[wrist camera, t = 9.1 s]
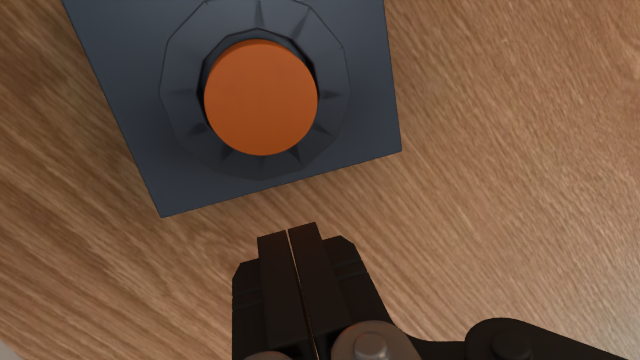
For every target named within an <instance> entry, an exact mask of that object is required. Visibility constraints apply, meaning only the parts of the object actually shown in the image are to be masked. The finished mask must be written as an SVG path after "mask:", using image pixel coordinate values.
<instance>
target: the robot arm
mask: <svg viewBox="0 0 640 360" xmlns="http://www.w3.org/2000/svg"><path fill="white" fill-rule="evenodd" d="M288 233H289V238H290V242H291V246H292V250H293V254H294V259H295V263H296V267H297V271H298V274H297V271H296V267H295V263H294V260H293V256H292V253H291V249H290V245H289V242H288V238H287V234H286V231H285V230H283V231H280V232H276V233H272V234H269V235H265V236H261V237H257V244H258V254H259V258H257V259H253V260H250V261H246V262H243V263H240V265H239V267H238V269H237V271H236V273H235V275H234V277H233V278H232V296H233V298H232V309H233V312H232V360H318V357H319V360H627V359H625V358H622V357H619V356H616V355H614V354H611V353H608V352H606V351H603V350H600V349H597V348H595V347H592V346H589V345H586V344H584V343H581V342H578V341H575V340H573V339H570V338H567V337H565V336H562V335H559V334H556V333H554V332H551V331H548V330H545V329H543V328H540V327H537V326H535V325H532V324H529V323H526V322H523V321H520V320H517V319H511V318H491V319H487V320H484V321H481V322H479V323H477V324H476V325H474V326H473V327H472V328H471V329H470V330H469V332H468V333H467V335H466V337H465V341H442V342H437V341H426V340H421V339H418V338H414V337H412V336H410V335H408V334H406V333H405V332H403V331H402V330H401V329H399V328H398V327H397V326H396V325H395V324H394V323H393V321H392V320H391V318H390V316H389V314H388V312H387V310H386V308H385V306H384V304H383V302H382V300H381V298H380V296H379V294H378V292H377V290H376V288H375V286H374V284H373V282H372V280H371V278H370V276H369V274H368V273H367V269H366V267H365V265H364V263H363V261H362V260H361V257H360V255H359V253H358V251H357V249H356V247H355V245H354V244H353V243H351V242H350V241H348V240H347V239H345V238H344V237H342V236H341V235H340V236H336V237H332V238H329V239H325V240H322V239H321V236H320V233H319V231H318V228H317V225H316V223H315V222H312V223H309V224H305V225H301V226H298V227H294V228H290V229H288ZM298 276H299V278H298ZM299 280H300V282H299ZM300 284H301V286H300ZM301 288H302V290H301ZM302 293H303V294H302ZM303 297H304V298H303ZM304 301H305V302H304ZM305 305H306V306H305ZM308 318H309V319H308ZM309 322H310V323H309ZM312 335H313V336H312ZM313 339H314V340H313ZM314 343H315V344H314ZM315 346H316V348H315ZM316 350H317V353H318V357H317V353H316Z"/></svg>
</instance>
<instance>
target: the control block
mask: <svg viewBox="0 0 640 360" xmlns="http://www.w3.org/2000/svg"><path fill="white" fill-rule="evenodd" d="M61 2H62V4H63V6H64V8H65V10H66V13H67V15H68V17H69V19H70V21H71V23H72V26H73V28H74V30H75V32H76V34H77V37H78V39H79V41H80V43H81V45H82V47H83V50H84V52H85V54H86V56H87V58H88V61H89V63H90V65H91V67H92V69H93V71H94V74H95V76H96V78H97V80H98V82H99V85H100V87H101V89H102V91H103V93H104V95H105V98H106V100H107V102H108V104H109V106H110V109H111V111H112V113H113V115H114V117H115V119H116V122H117V124H118V126H119V128H120V130H121V133H122V135H123V137H124V139H125V141H126V143H127V146H128V148H129V150H130V152H131V154H132V156H133V159H134V161H135V163H136V165H137V167H138V170H139V172H140V174H141V176H142V178H143V180H144V183H145V185H146V187H147V189H148V191H149V194H150V196H151V198H152V200H153V202H154V204H155V207H156V209H157V211H158V213H159V215H160V217H161V218H165V217H168V216H172V215H176V214H179V213H183V212H186V211H190V210H194V209H197V208H201V207H204V206H208V205H211V204H215V203H219V202H222V201H226V200H229V199H233V198H236V197H240V196H244V195H247V194H251V193H254V192H258V191H262V190H265V189H269V188H272V187H276V186H279V185H283V184H287V183H290V182H294V181H297V180H301V179H304V178H308V177H312V176H315V175H319V174H322V173H326V172H330V171H333V170H337V169H340V168H344V167H347V166H351V165H355V164H358V163H362V162H365V161H369V160H373V159H376V158H380V157H383V156H387V155H390V154H394V153H398V152H401V151H402V145H401V137H400V129H399V121H398V113H397V105H396V97H395V89H394V81H393V73H392V65H391V57H390V49H389V41H388V33H387V25H386V17H385V9H384V1H383V0H61ZM249 39H266V40H270V41H273V42H276V43H278V44H280V45H282V46H284V47H286V48H287V49H288V50H290V51H291V52H292V53H293V54H294V55H295V56H296V57H298V58H299V59H300V60H301V61H302V62H303V63H304V65H305V66H306V67H307V68H308V70H309V72H310V73H311V75H312V78H313V80H314V82H315V86H316V90H317V111H316V115H315V118H314V121H313V123H312V125H311V127H310V129H309V130H308V132H307V133H306V135H305V136H304V137H303V138H302V139H301V140H300V141H299V142H298V143H296V144H295V145H294V146H292V147H291V148H289V149H287V150H285V151H282V152H279V153H277V154H272V155H251V154H247V153H243V152H241V151H238V150H236V149H234V148H232V147H231V146H229V145H228V144H226V143H225V142H224V141H223V140H222V139H221V138H220V137H219V136H218V135H217V134H216V133H215V131H214V130H213V128H212V127H211V125H210V123H209V121H208V118H207V115H206V112H205V106H204V92H205V86H206V82H207V79H208V76H209V73H210V70H211V68H212V65H213V64H214V62H215V61H216V59H217V58H218V57H219V55H220V54H221V53H222V52H223V51H225V50H226V49H227V48H229V47H230V46H232V45H234V44H236V43H238V42H241V41H244V40H249Z"/></svg>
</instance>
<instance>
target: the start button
mask: <svg viewBox="0 0 640 360" xmlns="http://www.w3.org/2000/svg"><path fill="white" fill-rule="evenodd" d="M204 106H205V112H206V115H207V118H208V121H209V123H210V125H211V127H212V128H213V130H214V131H215V133H216V134H217V135H218V136H219V137H220V138H221V139H222V140H223V141H224V142H225V143H226V144H228V145H229V146H231V147H232V148H234V149H236V150H238V151H241V152H243V153H247V154H251V155H272V154H277V153H279V152H282V151H285V150H287V149H289V148H291V147H292V146H294V145H295V144H296V143H298V142H299V141H300V140H301V139H302V138H303V137H304V136H305V135H306V133H307V132H308V130H309V129H310V127H311V125H312V123H313V121H314V118H315V115H316V111H317V90H316V86H315V82H314V80H313V78H312V75H311V73H310V72H309V70H308V68H307V67H306V66H305V65H304V63H303V62H302V61H301V60H300V59H299V58H298V57H296V56H295V55H294V54H293V53H292V52H291V51H290V50H288V49H287V48H286V47H284V46H282V45H280V44H278V43H276V42H273V41H270V40H266V39H249V40H244V41H241V42H238V43H236V44H234V45H232V46H230V47H229V48H227V49H226V50H225V51H223V52H222V53H221V54H220V55H219V57H218V58H217V59H216V61H215V62H214V64H213V65H212V68H211V70H210V73H209V76H208V79H207V82H206V86H205V92H204Z"/></svg>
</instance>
